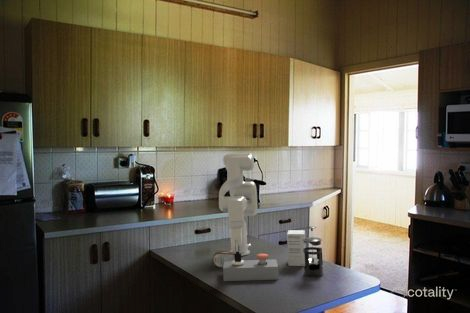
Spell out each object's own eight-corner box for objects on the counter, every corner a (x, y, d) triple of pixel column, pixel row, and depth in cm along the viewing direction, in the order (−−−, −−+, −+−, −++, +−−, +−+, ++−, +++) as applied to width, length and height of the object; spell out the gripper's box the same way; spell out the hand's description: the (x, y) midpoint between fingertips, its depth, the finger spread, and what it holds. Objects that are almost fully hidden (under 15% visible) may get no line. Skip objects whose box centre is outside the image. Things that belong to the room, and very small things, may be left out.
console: (223, 281, 184) (223, 268, 183) (225, 272, 196) (224, 261, 195) (278, 279, 183) (278, 266, 182) (276, 271, 195) (276, 259, 194)
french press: (314, 278, 181) (312, 229, 180) (298, 274, 188) (297, 227, 188) (329, 272, 189) (327, 225, 188) (313, 268, 196) (312, 223, 195)
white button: (232, 273, 187) (232, 263, 186) (232, 270, 192) (232, 259, 192) (244, 273, 186) (243, 262, 186) (244, 269, 192) (243, 259, 192)
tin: (241, 267, 204) (240, 251, 203) (239, 269, 201) (238, 253, 200) (214, 265, 208) (213, 250, 208) (212, 267, 205) (211, 251, 205)
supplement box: (289, 260, 212) (287, 229, 211) (306, 260, 210) (305, 229, 210) (288, 265, 202) (286, 233, 202) (305, 266, 201) (304, 233, 200)
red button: (257, 267, 186) (256, 257, 186) (256, 264, 192) (256, 253, 192) (268, 267, 186) (268, 256, 186) (268, 263, 191) (267, 253, 191)
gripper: (229, 221, 196) (231, 257, 197) (227, 227, 181) (229, 266, 182) (244, 220, 196) (245, 256, 196) (243, 226, 181) (245, 265, 181)
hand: (238, 261), depth 189 cm, fingers closed
